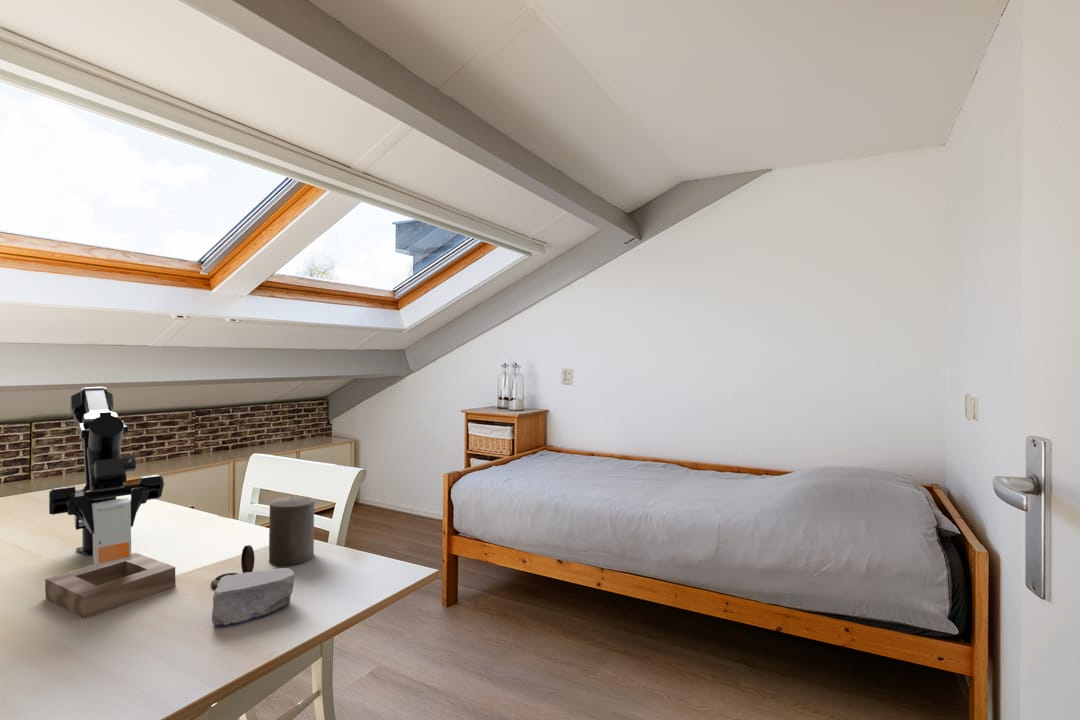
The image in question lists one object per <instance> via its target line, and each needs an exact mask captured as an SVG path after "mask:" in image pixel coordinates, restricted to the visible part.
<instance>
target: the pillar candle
mask: <svg viewBox="0 0 1080 720" xmlns="http://www.w3.org/2000/svg"><path fill="white" fill-rule="evenodd" d="M314 523H315V498H313V497H310V496H300V495H298V496H297V495H296V496H292V495H290V496H285V497H284V496H283V497H280V498H276V499H273V500H271V501H270V502H269V534H268V537H269V538H268V562H269V563H270V564H271V563H272V564H271V565H273V566H278V567H289V566H290V567H291V566H298V565H301V564H304V563H303V562H305V563H307V562H309V561H310V559H311V558H312V557H313V558H314V555H315V554H314V551H315V549H314V547H315V546H314V544H315V541H314V539H315V534H314V533H315V524H314ZM313 558H312V559H313ZM312 559H311V560H312ZM308 560H309V561H308ZM306 561H307V562H306ZM300 563H301V564H300ZM297 564H298V565H297Z"/></svg>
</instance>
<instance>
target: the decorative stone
mask: <svg viewBox="0 0 1080 720" xmlns="http://www.w3.org/2000/svg"><path fill="white" fill-rule="evenodd" d="M295 579H296V576H295V572H294V570H292V568H287V567H284V568H282V567H281V568H276V570H270V569H267V570H255V571H254V570H253V571H252V572H246V573H243V572H242V573H239V574H235V575H227V576H224V577H222V578H221V579H220V582H219V583H218V584H217V588H216V589H214V593H213V596H212V604H213V605H212V610H211V611H212V613H211V621H212V624H213V627H215V628H225V627H233V626H237V625H241V624H245V623H247V622H251V621H255V620H259V619H263V618H265V617H268V616H270V615H273V614H274V613H277V612H279V611H281V610H283V609H285V608H286V607H288V606H289V604H290V603H291V595H292V594H293V591H294V583H295Z"/></svg>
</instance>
